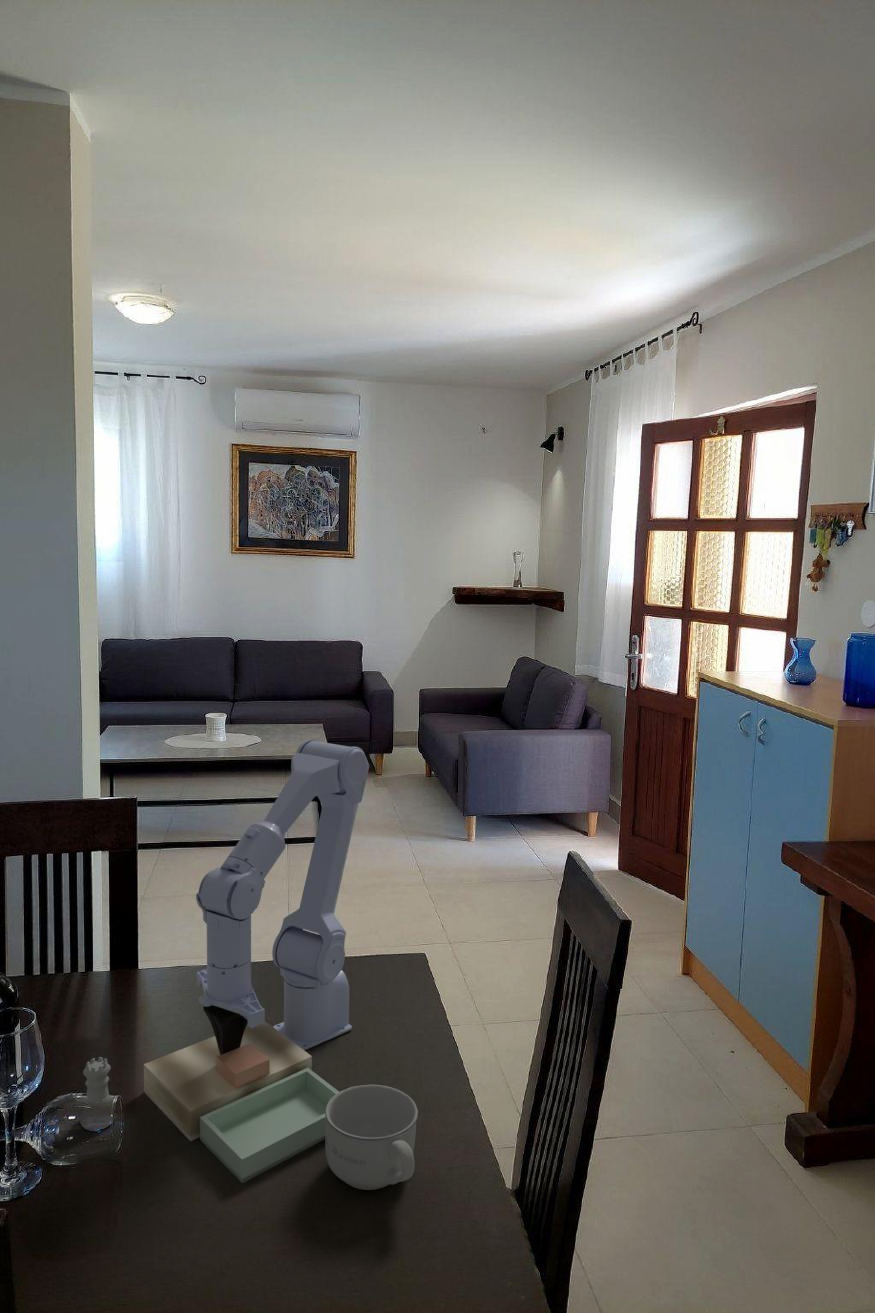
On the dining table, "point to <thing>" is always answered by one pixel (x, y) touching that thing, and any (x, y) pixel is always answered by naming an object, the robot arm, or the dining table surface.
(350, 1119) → the teacup
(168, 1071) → the beige banded block
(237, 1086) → the tile
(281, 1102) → the box
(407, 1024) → the dining table surface
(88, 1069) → the rook chess piece
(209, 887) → the robot arm
